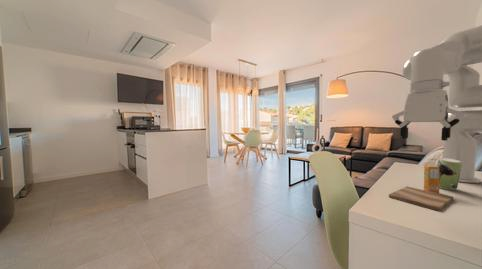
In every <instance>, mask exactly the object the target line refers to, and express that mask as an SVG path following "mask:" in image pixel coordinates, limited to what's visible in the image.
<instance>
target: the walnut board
mask: <svg viewBox="0 0 482 269" xmlns="http://www.w3.org/2000/svg"><path fill="white" fill-rule="evenodd" d="M388 198H392V199H394V200H397V201H398V200H399V201H401V202H405V203H407V204H408V203H409V204H412V205H416V206H419V207H422V208H427V209H430V210H433V211H437V212H439V211H441V210H442V209H443V208H445V207H446V206H447V205H448V204H449V203H451V202H452V201H453V200H454V196H452V195H447V194H443V193H440V192H439V193H434V192H430V191H425V190H424V189H421V188H416V187H412V186H405V187H403V188H402V187H401V188H400V189H398V190H395V191H393V192H390V193H389V194H388Z"/></svg>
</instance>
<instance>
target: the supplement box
mask: <svg viewBox="0 0 482 269" xmlns="http://www.w3.org/2000/svg"><path fill="white" fill-rule="evenodd" d="M423 168H424V170H423V190H425V191H430V192H434V193H439V194H440V187H439V167H438V165H432V164H431V165H429V164H428V165H427V164H425V165H423Z"/></svg>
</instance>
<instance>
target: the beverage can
mask: <svg viewBox="0 0 482 269" xmlns="http://www.w3.org/2000/svg"><path fill="white" fill-rule="evenodd" d="M437 167H439V189H443V190H446V191H448V190H449V191H453V190H456V189H458V187H459V183H460V182H459V178H460V173H461V168H462V164H461V163H460V161H459V160H456V159H450V158H443V157H442V158H441V159H440V160H438V163H437Z"/></svg>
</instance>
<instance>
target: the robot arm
mask: <svg viewBox="0 0 482 269" xmlns="http://www.w3.org/2000/svg"><path fill="white" fill-rule="evenodd" d="M480 63H481V64H482V25H479V26H474V27H472V28H468V29H465V30H461V31H459V32H454V33H453V34H450V35H448V36H447V37H445V39H443V40H442V41H441V42H440V43H439V44H437V45H435V46H432V47H431V48H425V49H421V50H419V51H417V52H415V53H414V54H413V55H412V57H411V56H410V58H409V59H408V60H407V61H406V62H405V63H404V66H403V68H402V75H403V77H404V78H405V79H406V80H409V81H410V92H409V93H408V94H407V96H406V99H405V103H404V107H403V108H404V109H403V110H402V111H400V112H398V113H395V114H393V115H392V119H393V121H394V122H395V123H394V124H396V125H397V126H398V127H399V128H400V137H401V139H408V138H409V127H408V126H409V125H410V124H411V123H440V124H441V125H442V128H441V138H440V140H441V141H443V157H442V158H450V159H456V160H459V161H460V163H461V164H462V168H461V173H460V178H459V182H458V183H466V184H467V183H469V184H470V183H471V184H479V183H480V182H481V179H479V178H477V177H475V175H476V174H475V173H476V171H475V170H476V158H477V141H476V139H475V138H474V137H473V136H471V135H470V133H482V109H477V110H476V109H475V110H474V109H473V110H472V108H482V84H480V77H481V75H480V73H479V71H477V70H476V69H474V68H473V67H470V66H471V65H475V64H480ZM445 75H448V78H449V81H444V76H445ZM446 87H449V91H447V90H446V89H445V88H446ZM444 89H445V90H444ZM447 92H448V93H447ZM450 107H451V108H450ZM453 108H454V109H453ZM468 108H469V109H471V110H456V109H468ZM402 116H403V121H402V120H400V117H402Z"/></svg>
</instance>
